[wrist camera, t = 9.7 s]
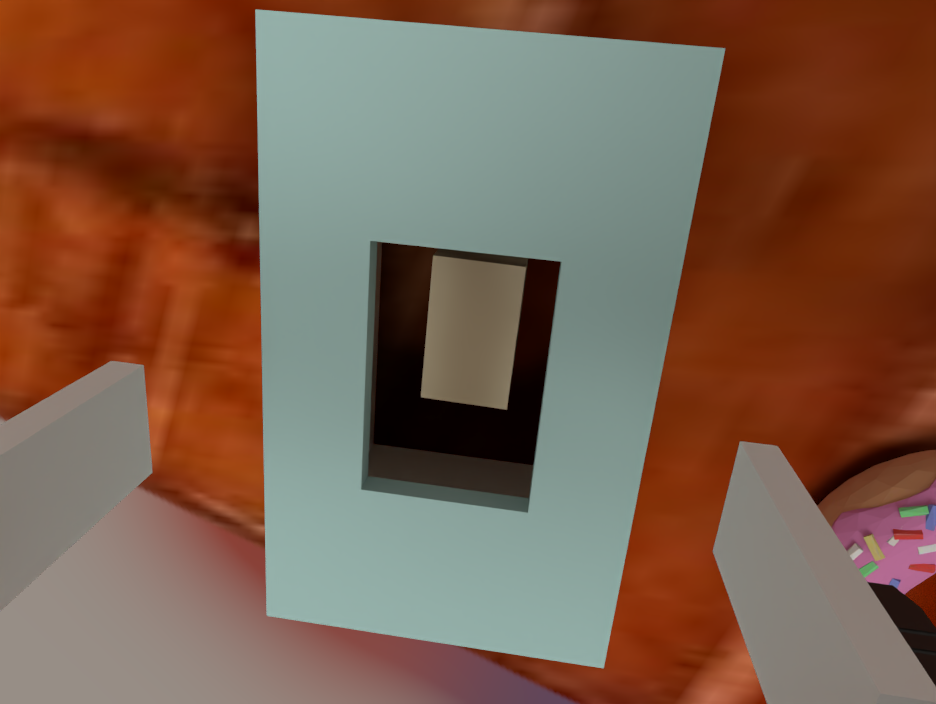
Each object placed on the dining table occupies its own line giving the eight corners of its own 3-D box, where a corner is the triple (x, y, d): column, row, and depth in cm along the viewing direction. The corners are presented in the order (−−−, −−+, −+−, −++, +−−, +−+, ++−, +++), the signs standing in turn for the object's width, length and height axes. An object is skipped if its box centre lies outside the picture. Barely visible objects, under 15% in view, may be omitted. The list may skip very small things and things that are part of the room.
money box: (657, 71, 26) (725, 48, 16) (587, 487, 32) (603, 668, 22) (370, 46, 27) (255, 9, 16) (356, 456, 33) (266, 615, 23)
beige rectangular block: (532, 230, 28) (525, 267, 22) (517, 343, 30) (506, 409, 24) (460, 221, 29) (433, 255, 22) (449, 334, 30) (420, 397, 24)
